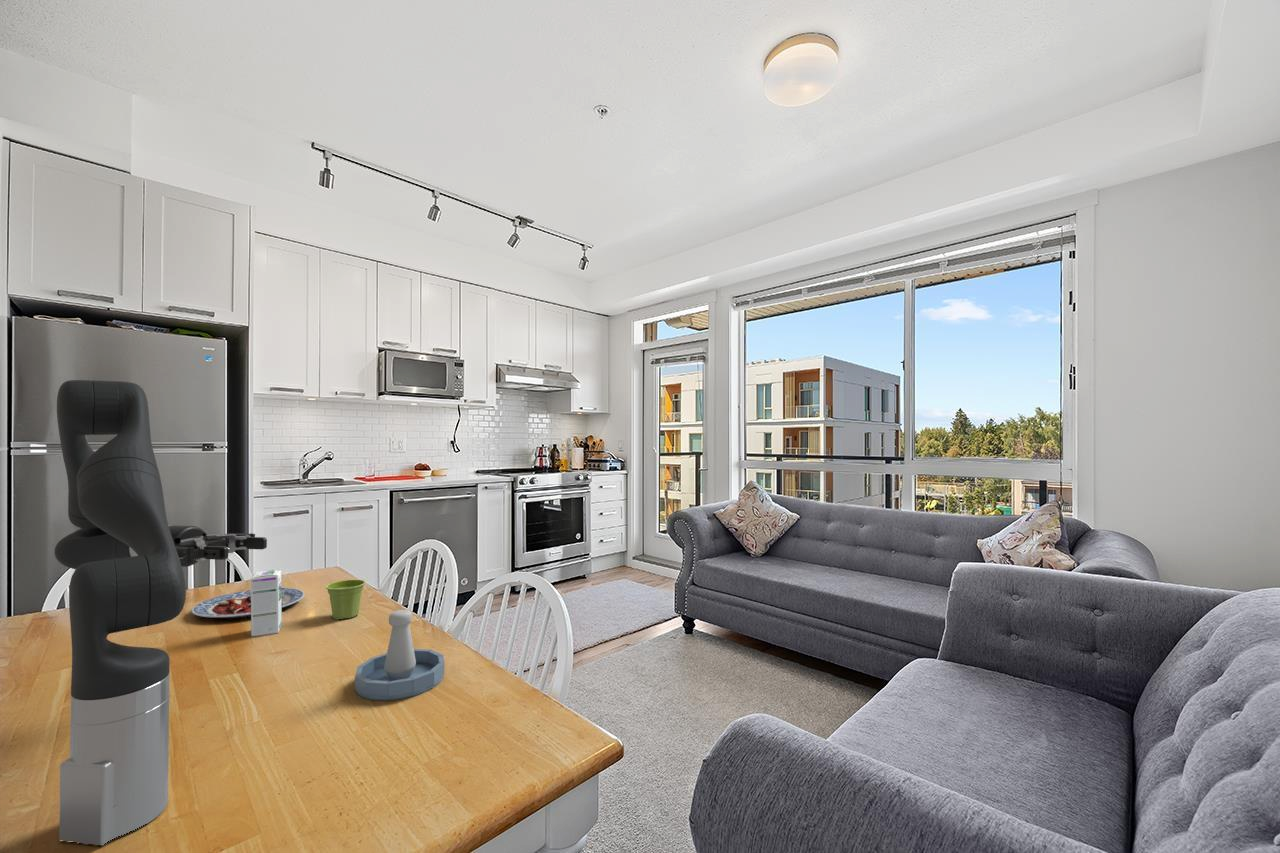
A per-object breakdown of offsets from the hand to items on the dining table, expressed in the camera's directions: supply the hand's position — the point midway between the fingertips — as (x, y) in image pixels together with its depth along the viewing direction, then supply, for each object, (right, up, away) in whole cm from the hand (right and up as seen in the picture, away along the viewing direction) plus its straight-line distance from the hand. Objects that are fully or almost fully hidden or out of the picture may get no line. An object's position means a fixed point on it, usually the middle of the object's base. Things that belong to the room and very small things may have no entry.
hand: (246, 548), depth 102 cm
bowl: (+25, -28, +8) cm, 39 cm away
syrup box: (-20, -28, +34) cm, 49 cm away
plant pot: (-6, -29, +46) cm, 54 cm away
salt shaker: (+25, -27, +8) cm, 38 cm away
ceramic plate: (-37, -29, +53) cm, 70 cm away
